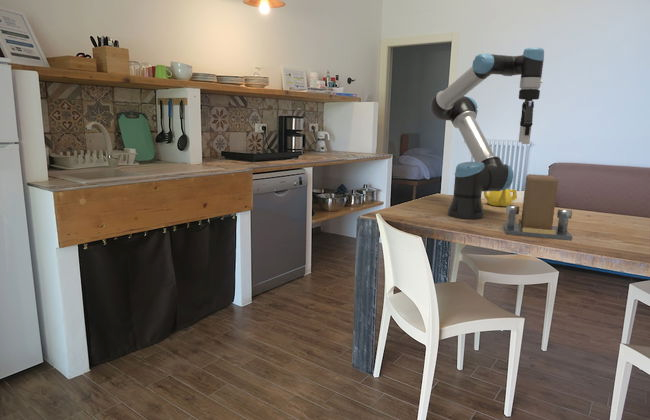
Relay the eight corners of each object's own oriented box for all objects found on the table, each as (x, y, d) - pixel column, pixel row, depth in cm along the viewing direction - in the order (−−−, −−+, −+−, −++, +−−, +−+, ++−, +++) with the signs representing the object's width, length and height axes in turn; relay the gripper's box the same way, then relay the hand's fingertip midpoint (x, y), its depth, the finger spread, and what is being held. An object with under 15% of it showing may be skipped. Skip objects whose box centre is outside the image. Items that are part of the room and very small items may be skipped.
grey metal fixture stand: (505, 234, 171) (508, 209, 169) (503, 225, 185) (505, 202, 183) (572, 240, 164) (575, 214, 162) (564, 230, 178) (567, 206, 176)
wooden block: (548, 226, 178) (554, 175, 174) (551, 232, 168) (558, 178, 164) (520, 224, 181) (526, 173, 177) (522, 229, 171) (528, 176, 167)
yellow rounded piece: (478, 204, 230) (480, 184, 228) (494, 201, 238) (496, 182, 236) (503, 208, 219) (505, 188, 217) (519, 206, 227) (521, 186, 225)
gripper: (544, 87, 168) (537, 145, 173) (535, 91, 192) (530, 142, 196) (522, 87, 171) (516, 144, 175) (516, 90, 194) (511, 141, 198)
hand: (523, 143), depth 186 cm, fingers open, 13 cm apart
